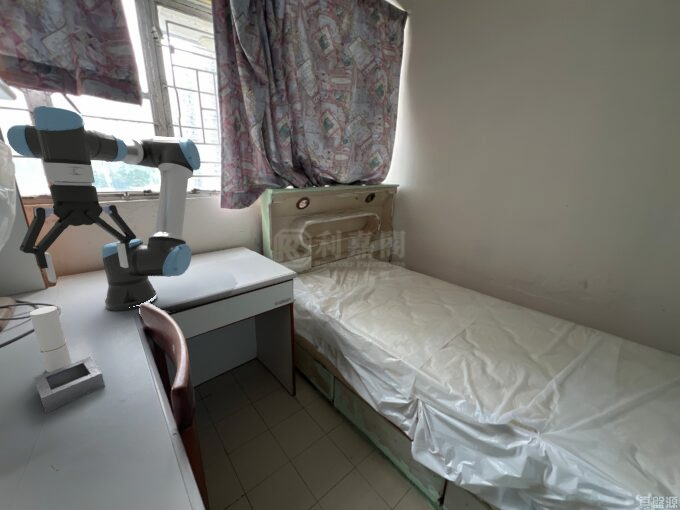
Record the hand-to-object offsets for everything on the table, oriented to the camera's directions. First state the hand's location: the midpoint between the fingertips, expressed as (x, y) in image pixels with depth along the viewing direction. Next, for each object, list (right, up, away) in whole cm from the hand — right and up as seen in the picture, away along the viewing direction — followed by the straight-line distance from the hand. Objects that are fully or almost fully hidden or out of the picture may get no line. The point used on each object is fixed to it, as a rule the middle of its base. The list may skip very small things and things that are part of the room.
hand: (91, 273), depth 65 cm
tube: (-8, -23, 0) cm, 24 cm away
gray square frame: (+2, -25, -7) cm, 26 cm away
